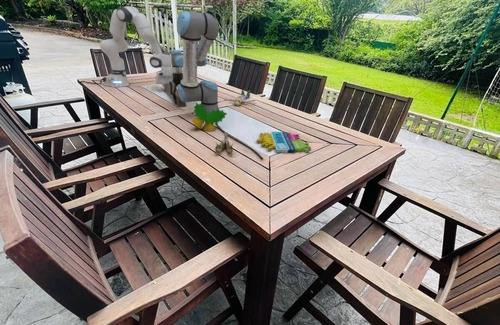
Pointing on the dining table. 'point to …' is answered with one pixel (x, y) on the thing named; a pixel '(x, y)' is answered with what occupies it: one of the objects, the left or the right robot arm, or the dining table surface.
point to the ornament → (207, 117)
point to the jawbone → (224, 145)
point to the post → (178, 100)
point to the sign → (283, 142)
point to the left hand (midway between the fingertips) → (168, 88)
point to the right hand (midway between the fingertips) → (179, 103)
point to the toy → (241, 99)
